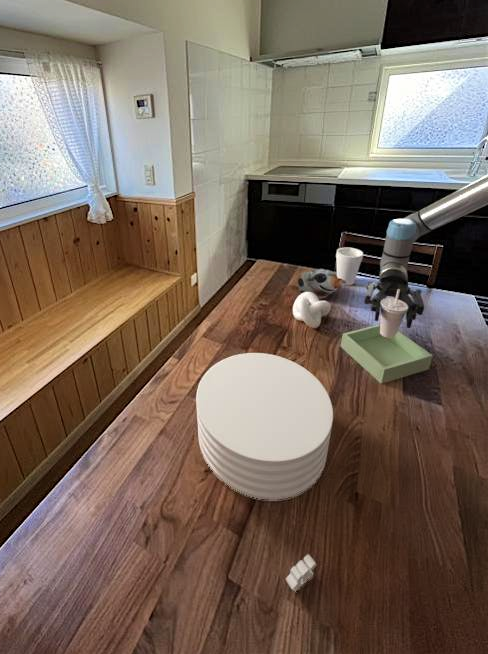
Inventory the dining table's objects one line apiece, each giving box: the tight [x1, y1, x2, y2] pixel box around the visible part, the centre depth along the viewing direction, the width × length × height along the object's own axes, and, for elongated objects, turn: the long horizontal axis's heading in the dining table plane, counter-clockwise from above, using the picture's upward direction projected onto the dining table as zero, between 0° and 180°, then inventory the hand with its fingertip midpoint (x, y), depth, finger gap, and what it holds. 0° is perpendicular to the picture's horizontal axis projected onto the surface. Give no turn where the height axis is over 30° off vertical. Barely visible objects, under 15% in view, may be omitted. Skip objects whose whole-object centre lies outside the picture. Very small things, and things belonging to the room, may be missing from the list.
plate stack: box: [195, 352, 334, 502], centre depth 74 cm, size 28×28×12 cm
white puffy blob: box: [292, 292, 332, 329], centre depth 111 cm, size 11×12×9 cm
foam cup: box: [335, 246, 364, 286], centre depth 133 cm, size 10×9×13 cm
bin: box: [340, 323, 434, 384], centre depth 95 cm, size 16×16×5 cm
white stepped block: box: [285, 553, 318, 593], centre depth 52 cm, size 5×1×4 cm, turn 120°
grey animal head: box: [296, 268, 346, 301], centre depth 125 cm, size 15×12×14 cm
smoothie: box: [379, 289, 408, 338], centre depth 89 cm, size 6×6×14 cm
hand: (393, 319), depth 85 cm, fingers closed on smoothie, 6 cm apart
